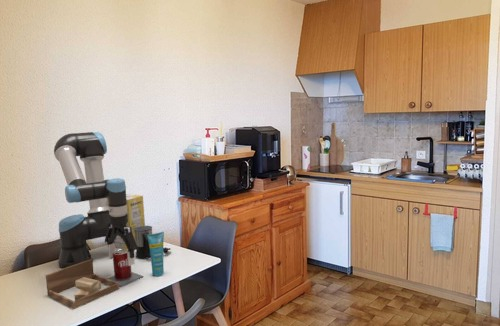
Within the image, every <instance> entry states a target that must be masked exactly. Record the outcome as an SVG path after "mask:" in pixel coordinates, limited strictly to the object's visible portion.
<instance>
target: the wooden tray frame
mask: <svg viewBox="0 0 500 326" xmlns="http://www.w3.org/2000/svg"><path fill="white" fill-rule="evenodd" d="M93 263H94V262H93V259H90V260H87V261H84V262H81V263H78V264H75V265H72V266H69V267H66V268H61V269H58V270H55V271H53V272H49V273H45V280H46V290H47V291H46V292H47V296H48V298H49V297H50V298H51V299H53V300H55V301H57V302H59V303H62V304H63V305H64V306H68V307H69V308H72V309H73V310H75V309H77V308H80V307H82V306H84V305H86V304H89V303H91V302H93V301H96V300H98V299H100V298H102V297H103V298H104V296H108V295H109V294H111V293H114V292H116V291H118V290H120V289H121V287H119V283H117V282H115V281H112V280H109V279H107V278H108V277H104V276H101V275H100V274H99V275H98V274H96V273H95V272H94V264H93ZM83 277H85V278H89V279H93V280H97V281H99V282H101V285H106V286H107V285H108V286H107V287H105V288H101V289H100V290H99V291H98V292H95V293H93V294H90V295H88V296H86V297H83V298H81V299H79V300H76V301H75V300H72V299H70V298H68V297H66V296H64V295H62V294H59V293H62V292H64V291H67V290H69V289H72V288H76V283H75V281H76V280H79V279H81V278H83Z"/></svg>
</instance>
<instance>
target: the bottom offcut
mask: <svg viewBox="0 0 500 326" xmlns="http://www.w3.org/2000/svg"><path fill="white" fill-rule="evenodd" d="M100 290H102V283H101V282H99V288H98V289H96V290H94V291H92V292H89V291H85V290H82V289H78V290H77V292H76V293H74V294H73V295H74V301H76V300H79V299H81V298H83V297H86V296H88V295H90V294H93V293H95V292H98V291H100Z"/></svg>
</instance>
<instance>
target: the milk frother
mask: <svg viewBox="0 0 500 326" xmlns="http://www.w3.org/2000/svg"><path fill="white" fill-rule="evenodd" d="M134 230H135V242H136V245H137V248H138V249H136V250H135V252H136V255H135V257H136V259H141V260H142V259H144V260H145V259H149V258H150V259H151V255H150V248H149V242H148V237H147V235H149V234H153V226H151V225H145V226H140V227H136V228H134ZM169 251H171V248H168V247H163V254H166V253H168V252H169Z"/></svg>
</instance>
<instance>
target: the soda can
mask: <svg viewBox="0 0 500 326" xmlns="http://www.w3.org/2000/svg"><path fill="white" fill-rule="evenodd" d="M127 251H128V249H119V248H118V249H115V251H114V252H113V258H112V261H113V274H114V275H113V276H115V279H116V280H118V281H123V280H127V279H129V278H130V277H131V276H132V272H133V271H132V265H131V266H128V254H127Z"/></svg>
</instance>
